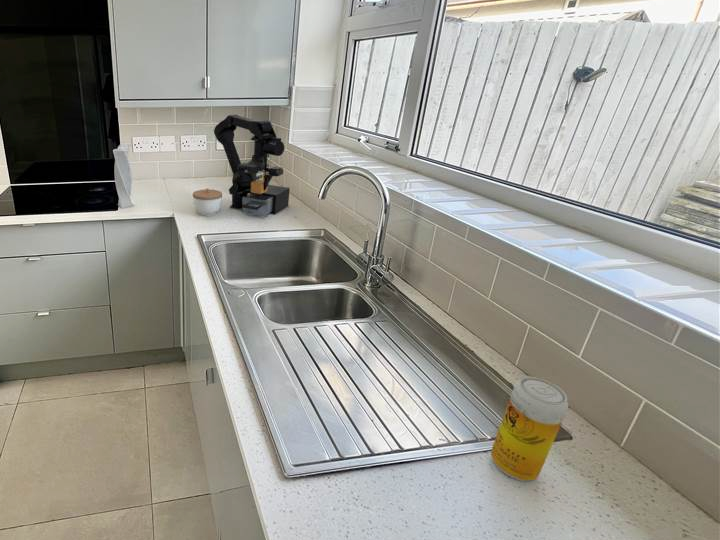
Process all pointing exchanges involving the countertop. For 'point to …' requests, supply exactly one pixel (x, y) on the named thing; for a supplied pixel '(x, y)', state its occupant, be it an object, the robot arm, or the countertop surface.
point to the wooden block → (258, 186)
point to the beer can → (529, 428)
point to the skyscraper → (123, 176)
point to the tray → (258, 204)
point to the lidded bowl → (207, 201)
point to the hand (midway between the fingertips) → (259, 189)
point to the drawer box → (277, 197)
